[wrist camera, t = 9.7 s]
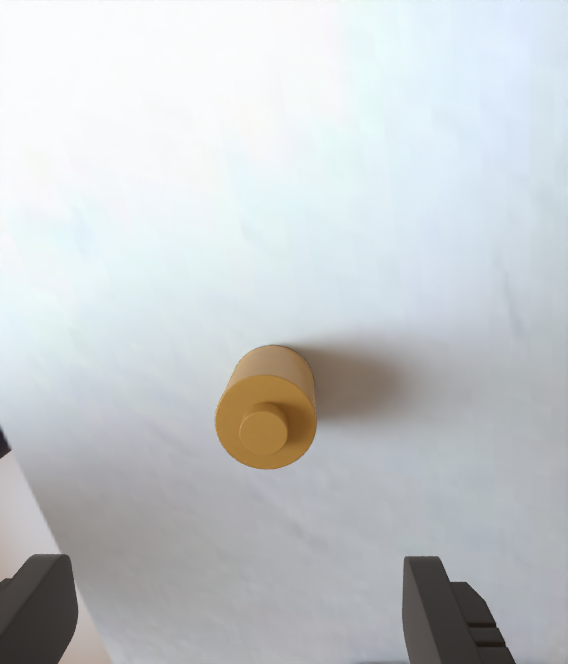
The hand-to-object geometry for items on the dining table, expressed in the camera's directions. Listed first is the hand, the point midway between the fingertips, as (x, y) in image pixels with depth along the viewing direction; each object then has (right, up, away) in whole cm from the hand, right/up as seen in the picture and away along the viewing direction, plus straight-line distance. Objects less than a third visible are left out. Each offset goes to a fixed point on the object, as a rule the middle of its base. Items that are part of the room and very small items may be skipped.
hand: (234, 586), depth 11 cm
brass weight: (+1, +3, +14) cm, 14 cm away
